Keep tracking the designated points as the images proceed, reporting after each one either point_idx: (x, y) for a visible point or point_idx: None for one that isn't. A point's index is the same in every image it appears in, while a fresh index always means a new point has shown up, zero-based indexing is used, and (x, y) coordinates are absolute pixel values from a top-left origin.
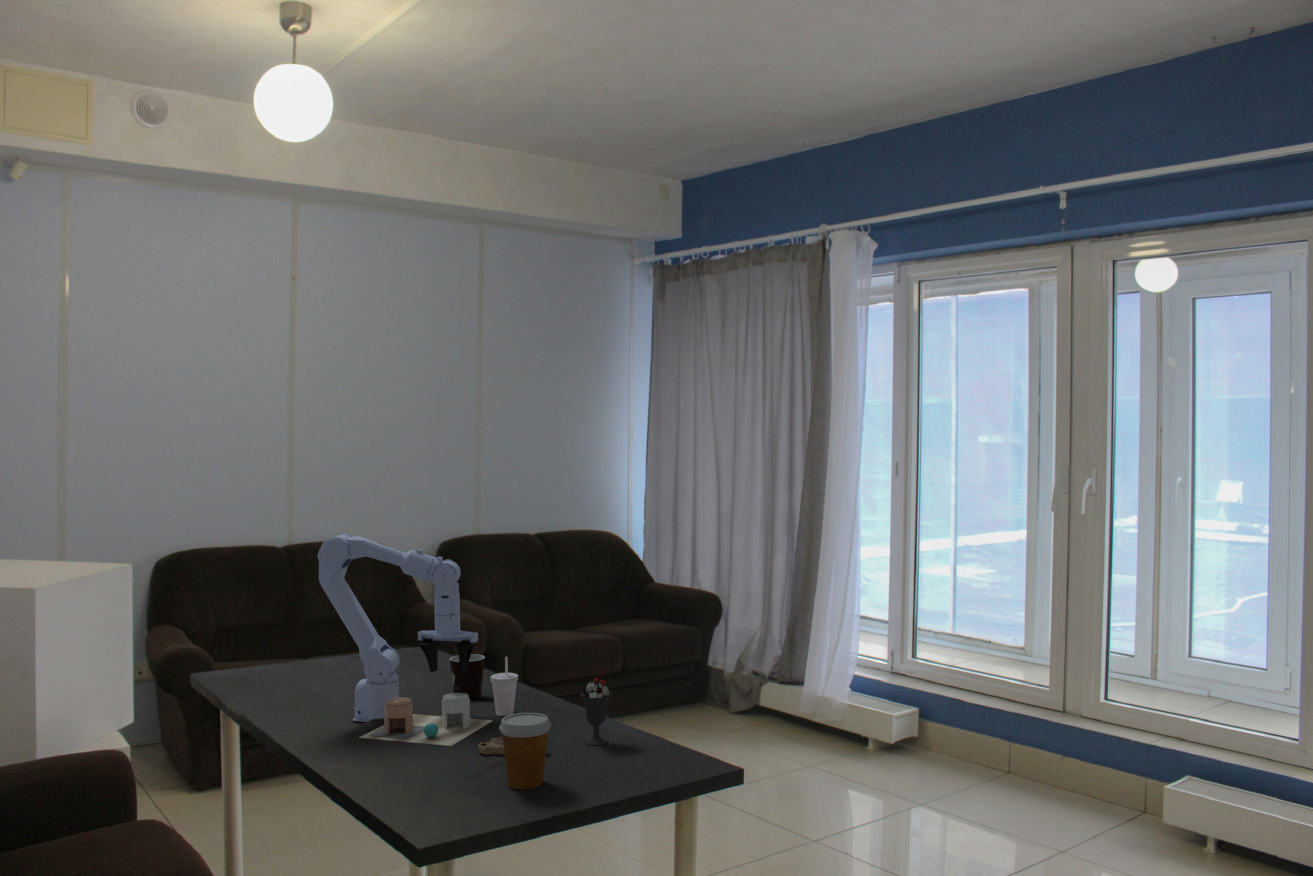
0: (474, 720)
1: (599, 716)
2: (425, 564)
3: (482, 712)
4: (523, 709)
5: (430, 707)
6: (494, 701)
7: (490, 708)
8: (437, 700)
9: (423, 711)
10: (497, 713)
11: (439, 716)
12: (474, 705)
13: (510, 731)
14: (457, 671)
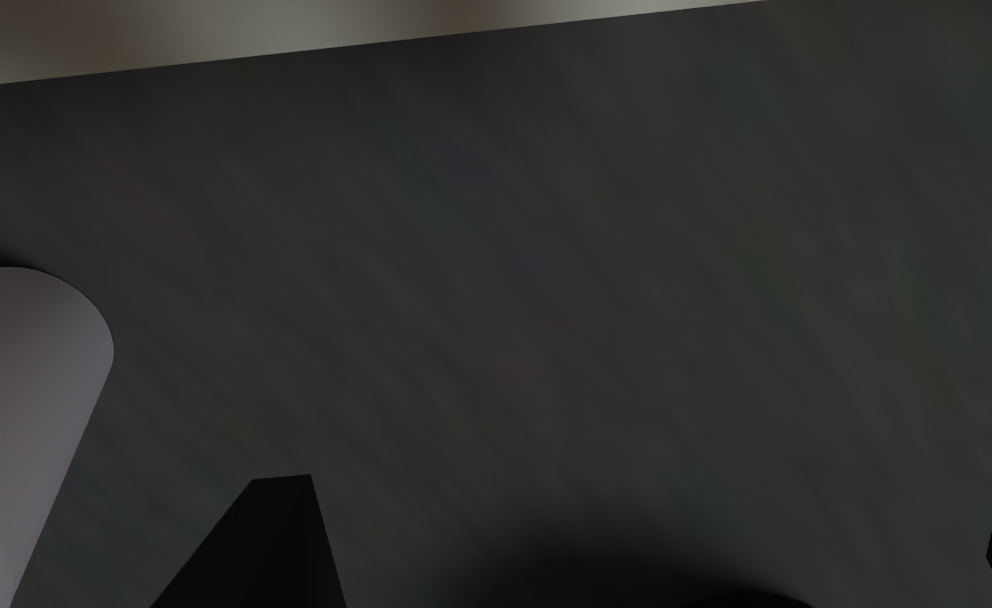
0: (80, 13)
1: None
2: None
3: (359, 410)
4: (94, 578)
5: (946, 383)
6: (7, 382)
7: (375, 521)
8: (971, 562)
9: (961, 252)
10: (15, 298)
11: (601, 5)
12: (566, 546)
13: None
14: None
